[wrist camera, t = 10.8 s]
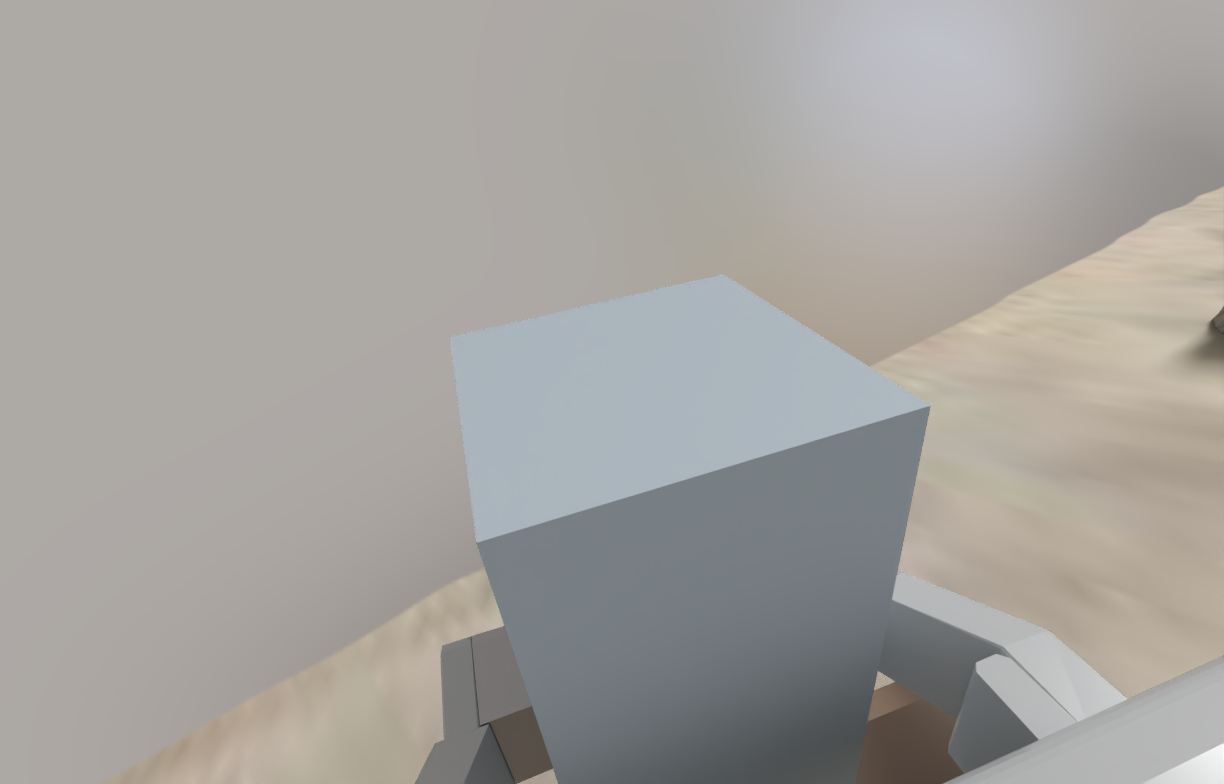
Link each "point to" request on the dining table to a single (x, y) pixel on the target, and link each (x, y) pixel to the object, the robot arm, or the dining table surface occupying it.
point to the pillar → (689, 532)
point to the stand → (906, 740)
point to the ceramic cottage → (1219, 321)
